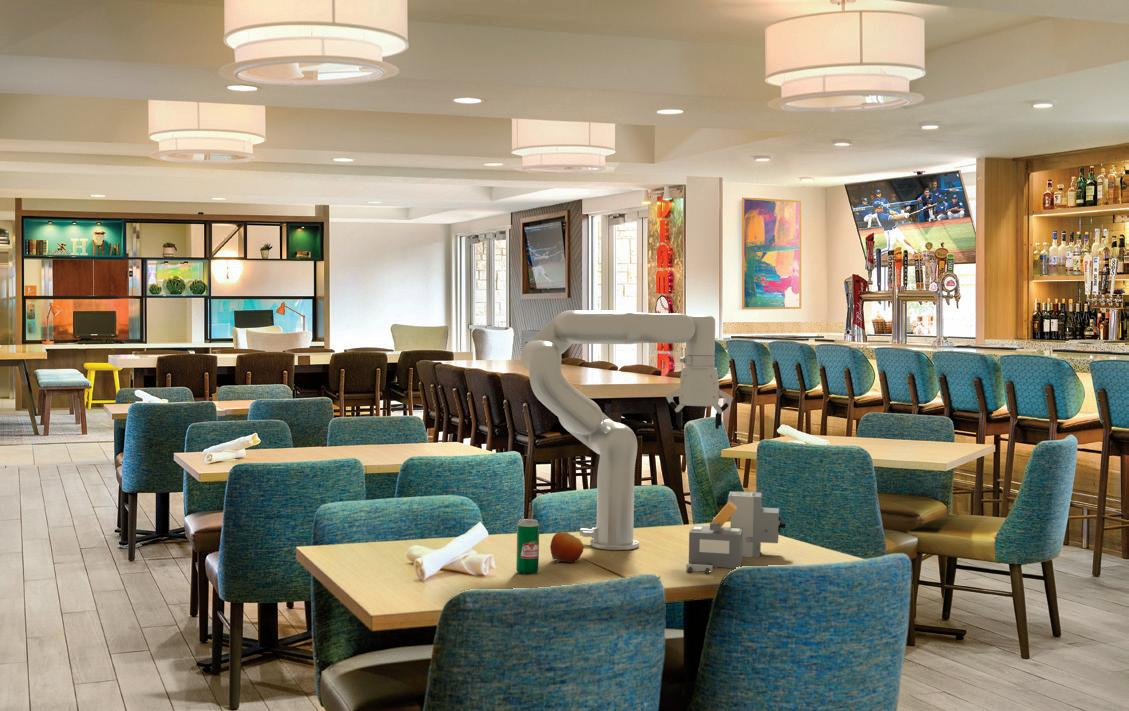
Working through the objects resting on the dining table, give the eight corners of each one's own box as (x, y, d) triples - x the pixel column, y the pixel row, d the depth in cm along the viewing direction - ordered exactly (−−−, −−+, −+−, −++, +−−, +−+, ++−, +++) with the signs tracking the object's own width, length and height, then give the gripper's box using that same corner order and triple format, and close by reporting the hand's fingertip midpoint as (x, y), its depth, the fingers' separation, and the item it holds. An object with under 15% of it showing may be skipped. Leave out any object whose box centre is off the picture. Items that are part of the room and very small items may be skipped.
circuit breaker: (784, 558, 289) (785, 498, 288) (726, 555, 291) (727, 495, 291) (784, 552, 296) (786, 493, 295) (728, 549, 299) (729, 491, 298)
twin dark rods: (684, 572, 270) (685, 566, 270) (688, 565, 278) (688, 560, 278) (711, 574, 269) (711, 568, 269) (713, 567, 277) (714, 561, 277)
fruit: (537, 553, 283) (553, 524, 284) (563, 568, 285) (579, 539, 287) (550, 560, 275) (567, 530, 277) (576, 575, 278) (592, 545, 279)
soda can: (521, 575, 265) (521, 522, 264) (513, 571, 269) (513, 519, 269) (541, 574, 267) (542, 521, 266) (533, 569, 271) (534, 518, 271)
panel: (688, 566, 278) (689, 522, 278) (692, 557, 288) (693, 515, 288) (739, 569, 276) (740, 525, 275) (742, 560, 286) (743, 518, 285)
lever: (709, 525, 279) (728, 503, 278) (711, 520, 285) (729, 500, 284) (717, 531, 279) (735, 510, 278) (719, 527, 284) (737, 506, 283)
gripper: (665, 362, 303) (663, 428, 304) (732, 363, 300) (731, 430, 300) (668, 361, 311) (667, 425, 311) (734, 362, 307) (732, 427, 308)
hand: (698, 427), depth 306 cm, fingers open, 9 cm apart
